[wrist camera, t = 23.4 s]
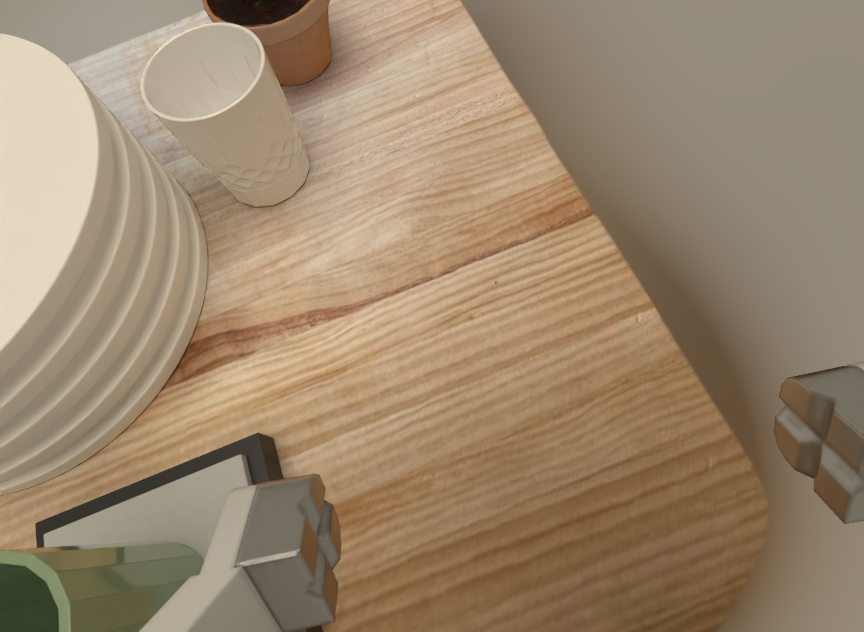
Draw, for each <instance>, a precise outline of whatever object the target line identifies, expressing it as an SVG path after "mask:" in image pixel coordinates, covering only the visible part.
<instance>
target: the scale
mask: <svg viewBox="0 0 864 632" xmlns="http://www.w3.org/2000/svg"><path fill="white" fill-rule="evenodd" d="M281 479H283V476H282V472H281V468H280V464H279V460H278V456H277V452H276V448H275V444H274V440H273V438H271V437H269V436H266V435H263V434H260V433H256V434H254V435H251V436H249V437H246V438H244V439H242V440H239V441H237V442H234V443H232V444H229V445H227V446H224V447H222V448H219V449H217V450H215V451H212V452H210V453H207V454H205V455H202V456H200V457H197V458H195V459H192V460H190V461H187V462H185V463H183V464H180V465H178V466H175V467H173V468H170V469H168V470H165V471H163V472H160V473H158V474H156V475H153V476H151V477H148V478H146V479H143V480H141V481H138V482H136V483H133V484H131V485H128V486H126V487H124V488H121V489H119V490H116V491H114V492H111V493H109V494H106V495H104V496H101V497H99V498H97V499H94V500H92V501H89V502H87V503H84V504H82V505H79V506H77V507H74V508H72V509H69V510H67V511H65V512H62V513H60V514H57V515H55V516H52V517H50V518H47V519H45V520H42V521H40V522H38V523H36V539H37V548H43V547H59V546H75V545H91V544H107V543H123V542H139V541H155V540H156V541H174V542H179V543H182V544H185V545H187V546H189V547H191V548H192V549H193V550H195V551H196V552H197V553H198V554H199V555H200V556H201V557H202V558H203V560H205V557H206V554H207V551H208V548H209V545H210V542H211V539H212V536H213V533H214V531H215V528H216V525H217V522H218V519H219V516H220V513H221V510H222V507H223V504H224V501H225V498H226V496H227V495H228V493H229V492H230V491H231V490H232V489H233V488H239V487H245V486H251V485H257V484H260V483H264V482H270V481H276V480H281ZM293 632H322V629H321V625H320V626H315V627H311V628H306V629H302V630H297V631H293Z"/></svg>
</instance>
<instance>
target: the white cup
mask: <svg viewBox="0 0 864 632" xmlns="http://www.w3.org/2000/svg"><path fill="white" fill-rule="evenodd" d="M140 90H141V95H142V98H143V101H144V103H145V104H146V106H147V107H148V108H149V109H150V110H151V111H152V112H153V113H154V115H155V116H156V117H157V118H158V119H159V120H160V121H161V122H162V123H163V124H164V125H165V126H166V127H167V128H168V130H169V131H170V132H171V133H172V134H173V135H174V136H175V137H176V138H177V139H178V140H179V141H180V142H181V144H182V145H183V146H184V147H185V148H186V149H187V150H188V151H189V152H190V153H191V154H192V155H193V156H194V157H195V158H196V159H197V160H198V161H199V162H200V163H201V165H202V166H203V167H204V168H205V169H206V170H207V171H208V172H210V173H211V175H212V176H213V177H215V178H216V179H218V180H219V181H220V182H221V183H222V184H223V185H224V186H225V187H226V188H227V189H228V190H229V191H230V192H231V194H232V195H233V196H234V197H235V198H236V199H237V200H238V201H239V202H242V203H245V204H248V205H251V206H254V207H260V206H270V205H276V204H278V203H280V202H282V201H284V200H286V199H288V198H290V197H291V196H293V195H294V194H295V192H296V191H297V190H298V189H299V188H300V187H301V186H302V185H303V184H304V182H305V180H306V177H307V174H308V171H309V168H310V163H309V158H308V153H307V149H306V147H305V145H304V143H303V141H302V138H301V136H300V132H299V129H298V127H297V124H296V122H295V119H294V117H293V115H292V112H291V110H290V107H289V105H288V102H287V100H286V97H285V95H284V93H283V91H282V88H281V86H280V84H279V82H278V79H277V77H276V75H275V73H274V70H273V68H272V66H271V64H270V61H269V59H268V57H267V55H266V52H265V50H264V48H263V45H262V43H261V41H260V40H259V38H258V37H257V36H256V35H255V34H254V33H253V32H252V31H250V30H249V29H247V28H245V27H243V26H240V25H237V24H233V23H225V22H215V23H207V24H202V25H198V26H195V27H192V28H189V29H187V30H185V31H182V32H180V33H179V34H177V35H175V36H173V37H172V38H170V39H169V40H168V41H166V42H165V43H164V44H163V45H162V46H160V47H159V48H158V49H157V50H156V52H155V53H154V54H153V55H152V56H151V58H150V59H149V61H148V62H147V64H146V66H145V68H144V70H143V73H142V77H141V82H140Z"/></svg>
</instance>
